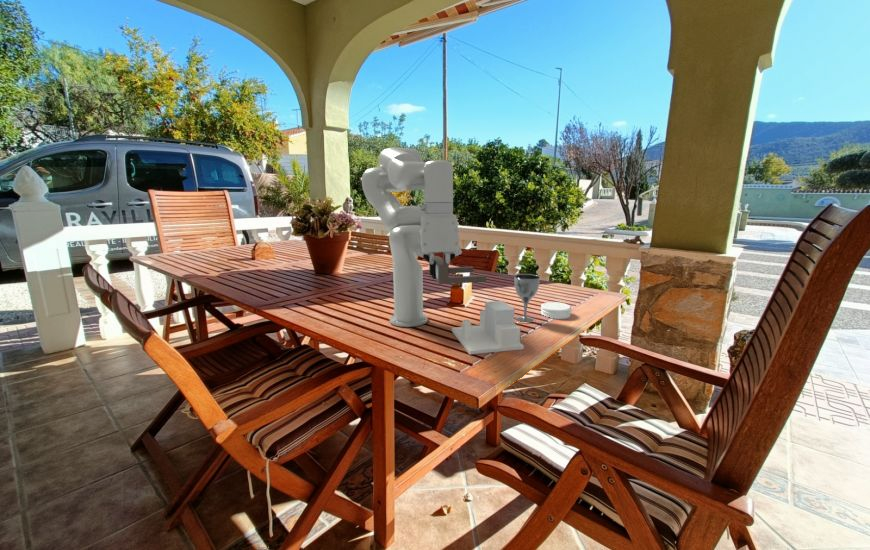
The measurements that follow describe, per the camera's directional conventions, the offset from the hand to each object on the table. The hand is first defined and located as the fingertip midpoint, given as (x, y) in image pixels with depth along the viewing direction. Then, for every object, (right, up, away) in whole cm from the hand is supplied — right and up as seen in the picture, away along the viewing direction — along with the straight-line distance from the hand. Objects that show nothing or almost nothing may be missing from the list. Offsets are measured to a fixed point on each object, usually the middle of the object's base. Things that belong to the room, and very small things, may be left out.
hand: (439, 277), depth 105 cm
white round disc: (+41, -14, +29) cm, 52 cm away
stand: (+14, -18, +7) cm, 24 cm away
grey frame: (+5, 0, +1) cm, 5 cm away
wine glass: (+29, -15, +24) cm, 40 cm away
